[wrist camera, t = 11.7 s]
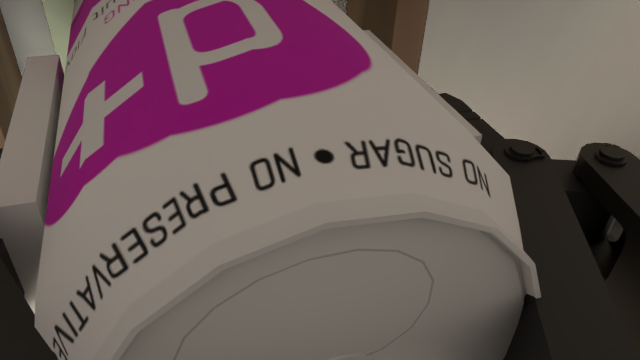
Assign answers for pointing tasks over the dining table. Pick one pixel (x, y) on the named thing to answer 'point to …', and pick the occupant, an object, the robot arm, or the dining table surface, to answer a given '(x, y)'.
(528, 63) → the dining table surface
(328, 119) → the supplement can
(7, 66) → the channel walls
